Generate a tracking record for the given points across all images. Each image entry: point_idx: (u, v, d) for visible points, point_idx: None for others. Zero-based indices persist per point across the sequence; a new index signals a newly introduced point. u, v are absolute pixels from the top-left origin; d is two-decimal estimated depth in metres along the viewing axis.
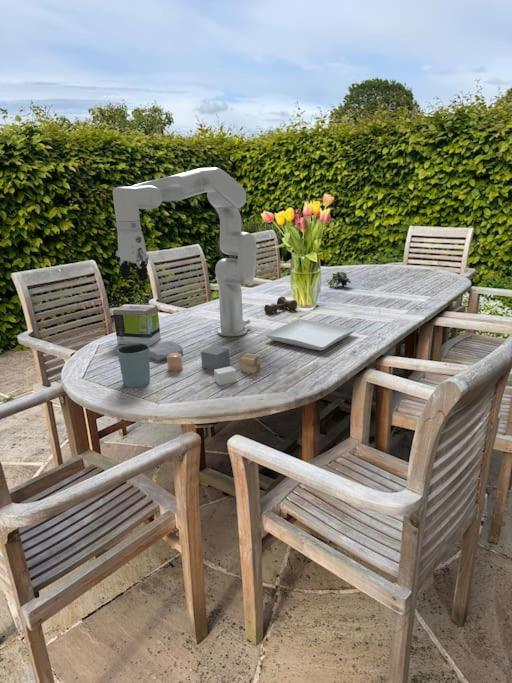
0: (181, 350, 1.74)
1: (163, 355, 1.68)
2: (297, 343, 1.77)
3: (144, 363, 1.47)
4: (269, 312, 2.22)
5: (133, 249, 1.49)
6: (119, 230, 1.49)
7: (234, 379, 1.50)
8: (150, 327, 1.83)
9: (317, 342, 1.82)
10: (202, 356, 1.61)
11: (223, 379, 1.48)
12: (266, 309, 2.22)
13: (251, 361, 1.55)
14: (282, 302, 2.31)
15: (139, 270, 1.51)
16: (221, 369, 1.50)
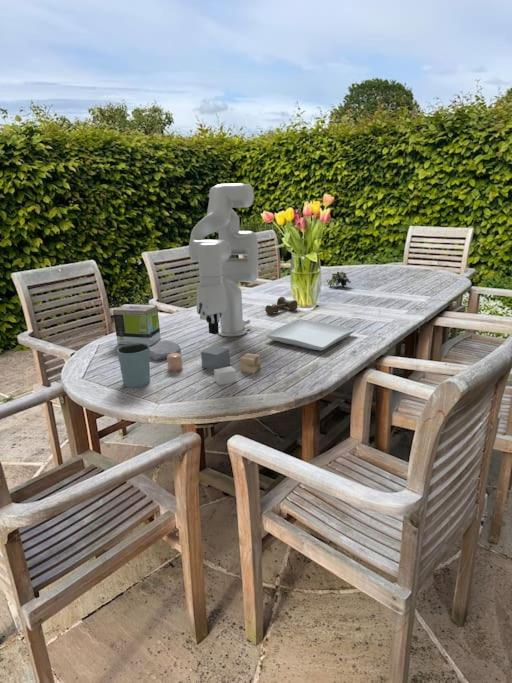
0: (179, 349, 1.75)
1: (161, 354, 1.69)
2: (297, 343, 1.77)
3: (144, 363, 1.47)
4: (271, 313, 2.21)
5: (225, 299, 1.57)
6: (219, 284, 1.51)
7: (234, 379, 1.50)
8: (150, 327, 1.83)
9: (317, 342, 1.82)
10: (202, 356, 1.61)
11: (222, 379, 1.48)
12: (267, 310, 2.21)
13: (251, 361, 1.55)
14: (282, 302, 2.30)
15: None
16: (221, 369, 1.50)
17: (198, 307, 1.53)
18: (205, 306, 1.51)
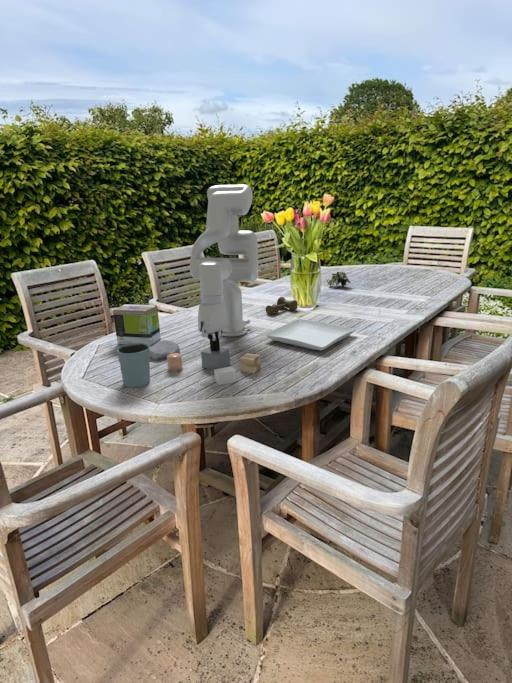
0: (178, 349, 1.75)
1: (160, 354, 1.69)
2: (297, 343, 1.77)
3: (144, 363, 1.47)
4: (271, 313, 2.20)
5: (226, 316, 1.59)
6: (220, 303, 1.53)
7: (234, 379, 1.50)
8: (150, 327, 1.83)
9: (317, 342, 1.82)
10: (202, 356, 1.61)
11: (222, 379, 1.48)
12: (268, 310, 2.21)
13: (251, 361, 1.55)
14: (282, 302, 2.30)
15: None
16: (221, 369, 1.50)
17: (199, 325, 1.55)
18: (206, 325, 1.53)
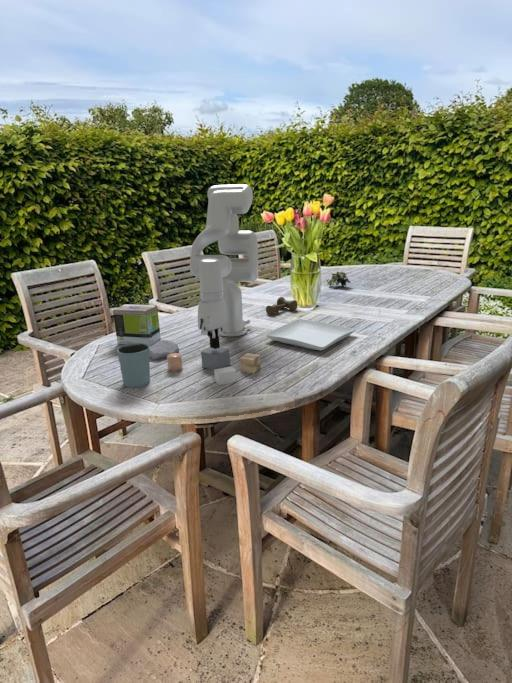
0: (177, 349, 1.75)
1: (160, 354, 1.69)
2: (297, 343, 1.77)
3: (144, 363, 1.47)
4: (271, 313, 2.20)
5: (226, 314, 1.59)
6: (220, 300, 1.53)
7: (234, 379, 1.50)
8: (150, 327, 1.83)
9: (317, 342, 1.82)
10: (202, 356, 1.61)
11: (222, 379, 1.48)
12: (268, 310, 2.21)
13: (251, 361, 1.55)
14: (282, 302, 2.30)
15: None
16: (221, 369, 1.50)
17: (199, 322, 1.55)
18: (206, 322, 1.53)
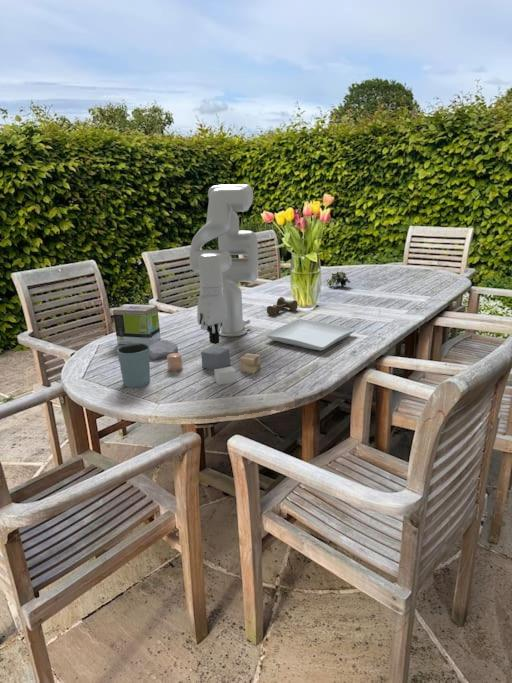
0: (176, 348, 1.76)
1: (159, 353, 1.70)
2: (297, 343, 1.77)
3: (144, 363, 1.47)
4: (272, 313, 2.19)
5: (226, 309, 1.58)
6: (219, 295, 1.52)
7: (234, 379, 1.50)
8: (150, 327, 1.83)
9: (317, 342, 1.82)
10: (202, 356, 1.60)
11: (222, 378, 1.48)
12: (269, 310, 2.20)
13: (251, 361, 1.55)
14: (282, 303, 2.29)
15: None
16: (221, 369, 1.50)
17: (199, 317, 1.54)
18: (206, 317, 1.52)
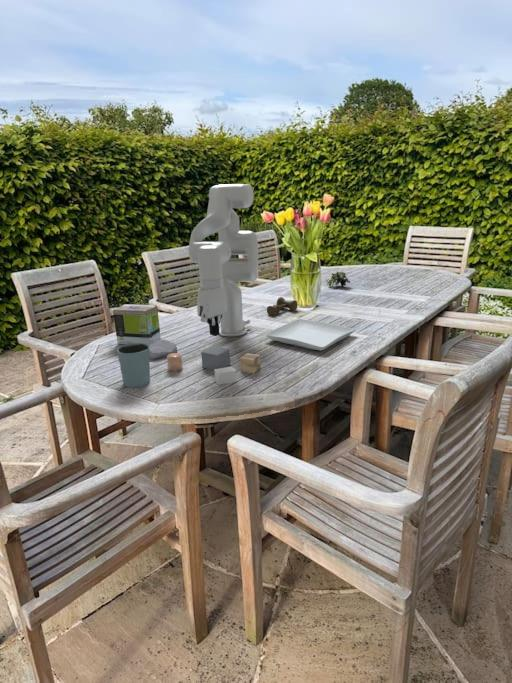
0: (175, 348, 1.76)
1: (158, 353, 1.70)
2: (297, 343, 1.77)
3: (144, 363, 1.47)
4: (273, 313, 2.19)
5: (226, 301, 1.58)
6: (219, 287, 1.52)
7: (234, 380, 1.49)
8: (150, 327, 1.83)
9: (317, 342, 1.82)
10: (202, 356, 1.60)
11: (222, 378, 1.48)
12: (269, 310, 2.20)
13: (251, 361, 1.55)
14: (282, 303, 2.29)
15: None
16: (221, 369, 1.50)
17: (199, 310, 1.54)
18: (206, 309, 1.52)
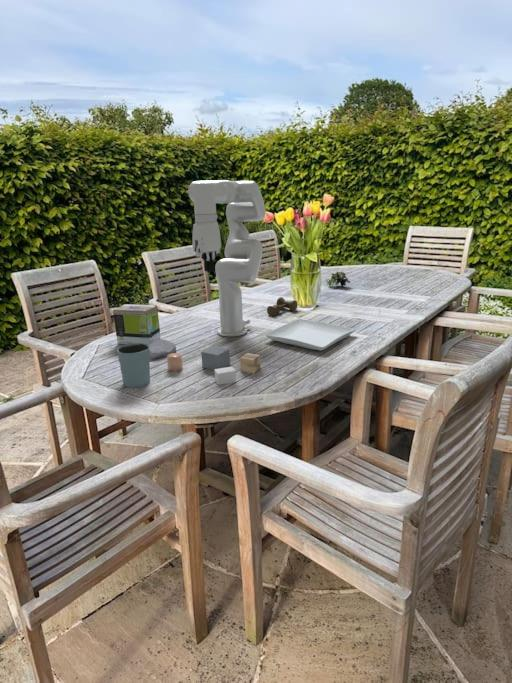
0: (174, 348, 1.76)
1: (157, 353, 1.70)
2: (297, 343, 1.77)
3: (144, 363, 1.47)
4: (273, 313, 2.19)
5: (220, 237, 1.65)
6: (213, 222, 1.59)
7: (234, 380, 1.49)
8: (150, 327, 1.83)
9: (317, 342, 1.82)
10: (202, 356, 1.60)
11: (221, 378, 1.48)
12: (269, 311, 2.20)
13: (251, 361, 1.55)
14: (282, 303, 2.29)
15: None
16: (221, 369, 1.50)
17: (194, 245, 1.61)
18: (200, 243, 1.59)
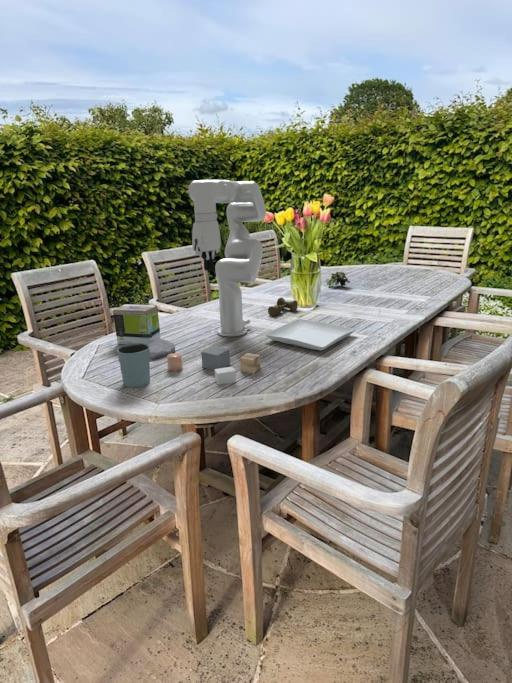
0: (174, 348, 1.77)
1: (157, 353, 1.70)
2: (297, 343, 1.77)
3: (144, 363, 1.47)
4: (274, 314, 2.19)
5: (219, 237, 1.65)
6: (213, 221, 1.59)
7: (233, 380, 1.49)
8: (150, 327, 1.83)
9: (317, 342, 1.82)
10: (202, 356, 1.60)
11: (221, 378, 1.48)
12: (270, 311, 2.19)
13: (251, 361, 1.55)
14: (282, 303, 2.29)
15: None
16: (221, 369, 1.50)
17: (194, 243, 1.62)
18: (200, 242, 1.60)
